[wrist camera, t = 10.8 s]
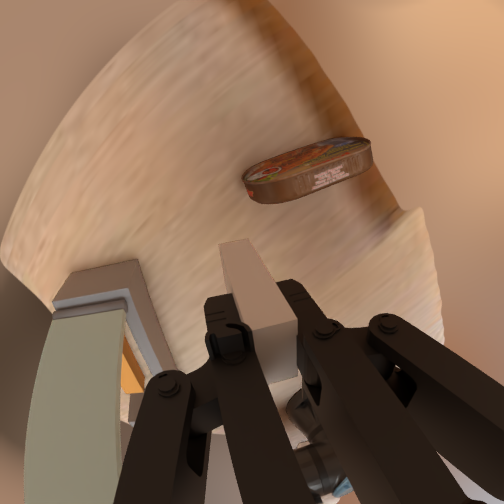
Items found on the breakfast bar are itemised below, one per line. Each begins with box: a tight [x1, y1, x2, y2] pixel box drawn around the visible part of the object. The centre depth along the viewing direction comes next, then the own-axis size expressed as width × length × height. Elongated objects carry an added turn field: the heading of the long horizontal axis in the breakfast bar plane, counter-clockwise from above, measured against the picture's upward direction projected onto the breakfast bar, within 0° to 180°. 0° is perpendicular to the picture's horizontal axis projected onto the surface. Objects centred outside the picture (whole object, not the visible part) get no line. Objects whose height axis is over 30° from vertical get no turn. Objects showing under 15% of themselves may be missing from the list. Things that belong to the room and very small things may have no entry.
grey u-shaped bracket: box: [52, 259, 178, 427], centre depth 33 cm, size 25×10×7 cm, turn 6°
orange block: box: [121, 335, 145, 394], centre depth 35 cm, size 12×3×4 cm, turn 5°
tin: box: [242, 137, 373, 204], centre depth 28 cm, size 15×3×8 cm, turn 110°
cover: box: [24, 299, 128, 504], centre depth 16 cm, size 23×9×1 cm
